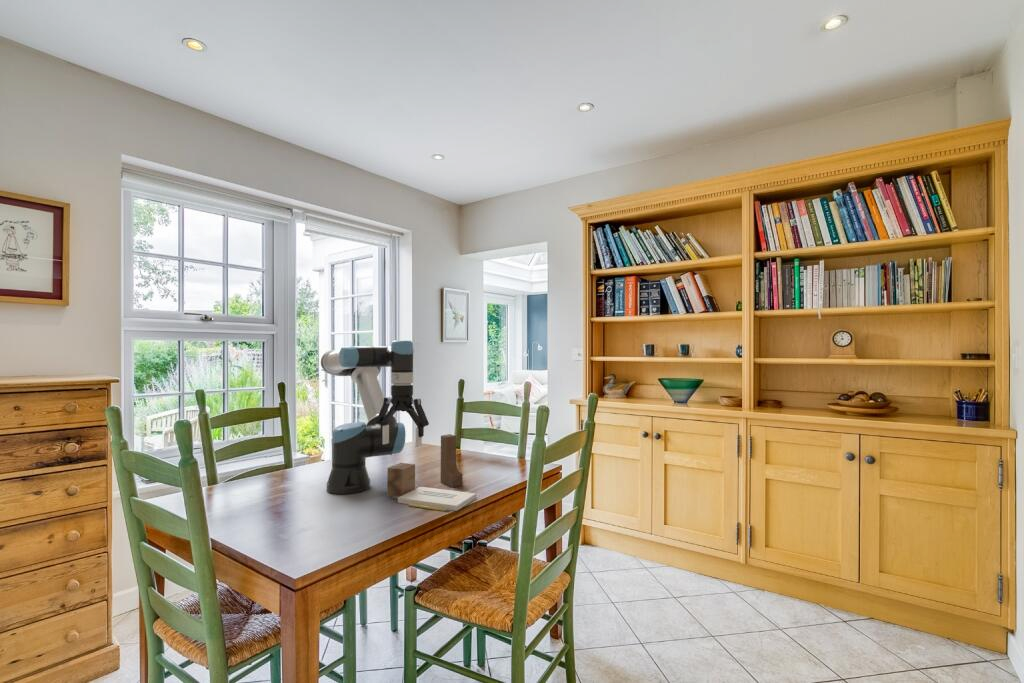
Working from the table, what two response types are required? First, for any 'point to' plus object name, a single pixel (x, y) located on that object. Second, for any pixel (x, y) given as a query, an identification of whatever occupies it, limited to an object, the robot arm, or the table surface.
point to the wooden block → (449, 462)
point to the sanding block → (400, 479)
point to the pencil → (429, 507)
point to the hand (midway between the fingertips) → (401, 445)
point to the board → (437, 498)
